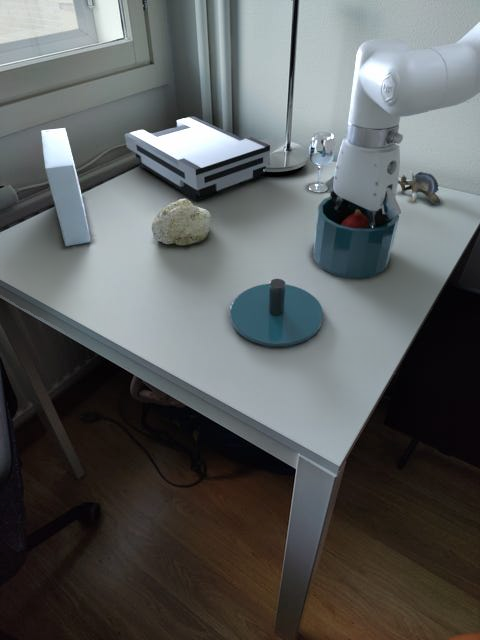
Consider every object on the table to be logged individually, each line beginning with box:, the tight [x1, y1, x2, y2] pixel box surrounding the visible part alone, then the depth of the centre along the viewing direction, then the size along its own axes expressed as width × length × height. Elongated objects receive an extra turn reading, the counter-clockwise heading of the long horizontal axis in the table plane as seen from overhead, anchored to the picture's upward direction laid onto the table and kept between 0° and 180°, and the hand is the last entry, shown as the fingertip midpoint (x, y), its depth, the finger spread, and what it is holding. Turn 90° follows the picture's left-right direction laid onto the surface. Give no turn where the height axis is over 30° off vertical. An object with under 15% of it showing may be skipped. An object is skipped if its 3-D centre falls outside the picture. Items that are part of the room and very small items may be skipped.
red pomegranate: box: [341, 209, 369, 229], centre depth 82 cm, size 6×6×8 cm
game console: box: [124, 116, 271, 202], centre depth 114 cm, size 21×32×8 cm, turn 38°
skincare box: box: [40, 127, 92, 247], centre depth 93 cm, size 21×5×16 cm, turn 20°
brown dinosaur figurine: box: [398, 169, 441, 206], centre depth 101 cm, size 8×7×9 cm
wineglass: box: [308, 131, 336, 193], centre depth 104 cm, size 6×6×12 cm
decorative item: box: [151, 197, 212, 246], centre depth 90 cm, size 12×9×10 cm
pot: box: [313, 195, 400, 279], centre depth 83 cm, size 14×14×10 cm
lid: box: [229, 278, 324, 347], centre depth 71 cm, size 15×15×7 cm
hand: (355, 235), depth 83 cm, fingers closed on red pomegranate, 5 cm apart
